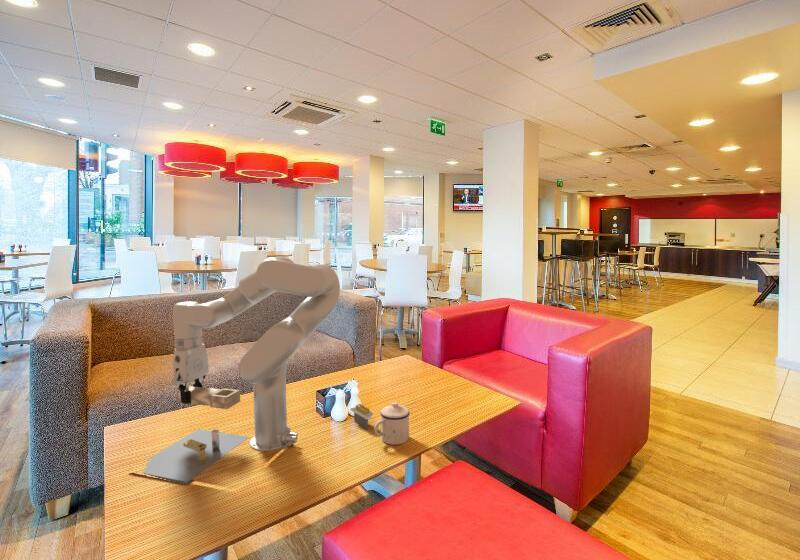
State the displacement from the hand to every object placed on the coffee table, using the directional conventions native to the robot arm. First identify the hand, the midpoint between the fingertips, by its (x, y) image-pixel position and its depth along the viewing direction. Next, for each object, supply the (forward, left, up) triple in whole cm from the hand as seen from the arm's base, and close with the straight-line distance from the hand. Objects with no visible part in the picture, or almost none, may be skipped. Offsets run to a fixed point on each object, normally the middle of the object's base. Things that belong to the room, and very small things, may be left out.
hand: (192, 399), depth 128 cm
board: (-7, +7, -13) cm, 17 cm away
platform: (-47, -25, -14) cm, 55 cm away
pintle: (-12, +4, -13) cm, 18 cm away
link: (-6, 0, 0) cm, 6 cm away
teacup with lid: (-59, -17, -14) cm, 63 cm away
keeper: (-11, +11, -12) cm, 20 cm away
